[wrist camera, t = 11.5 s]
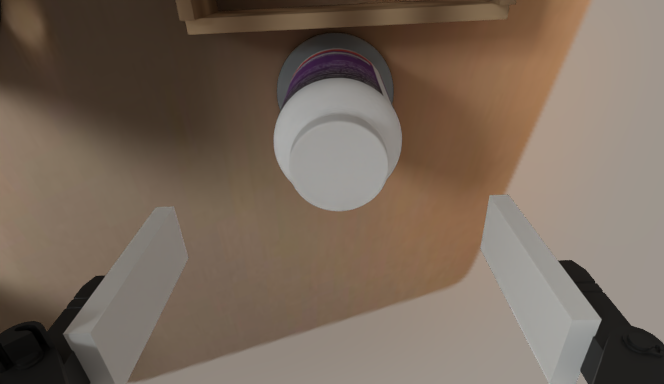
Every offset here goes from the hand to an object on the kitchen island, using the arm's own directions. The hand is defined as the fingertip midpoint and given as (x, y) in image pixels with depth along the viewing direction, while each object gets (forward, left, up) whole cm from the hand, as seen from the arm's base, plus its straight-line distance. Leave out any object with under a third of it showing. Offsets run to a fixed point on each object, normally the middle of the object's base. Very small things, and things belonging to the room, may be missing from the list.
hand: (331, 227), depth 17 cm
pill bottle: (0, 0, -20) cm, 20 cm away
